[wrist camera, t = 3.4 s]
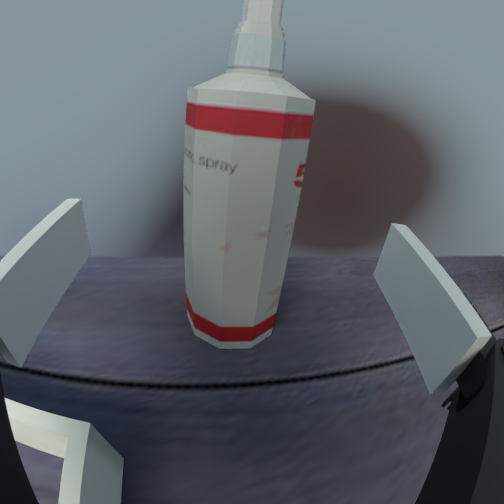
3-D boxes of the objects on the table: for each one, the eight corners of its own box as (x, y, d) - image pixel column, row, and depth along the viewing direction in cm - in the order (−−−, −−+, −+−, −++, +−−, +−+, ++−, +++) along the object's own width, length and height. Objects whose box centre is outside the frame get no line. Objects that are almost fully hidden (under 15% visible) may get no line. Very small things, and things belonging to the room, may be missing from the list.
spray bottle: (179, 295, 27) (188, 0, 13) (251, 281, 30) (285, 15, 16) (205, 360, 21) (230, -39, 7) (290, 336, 24) (356, 2, 10)
